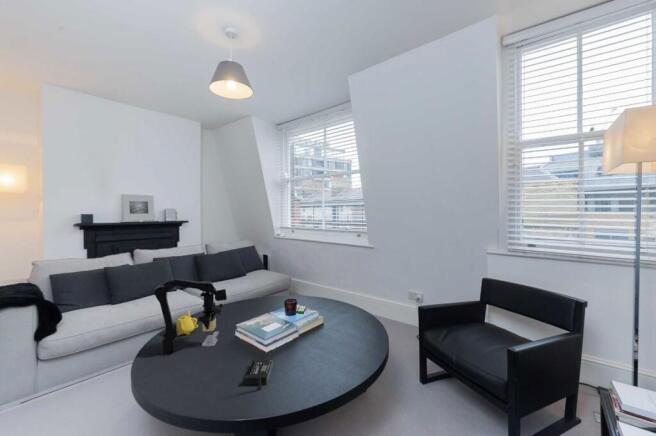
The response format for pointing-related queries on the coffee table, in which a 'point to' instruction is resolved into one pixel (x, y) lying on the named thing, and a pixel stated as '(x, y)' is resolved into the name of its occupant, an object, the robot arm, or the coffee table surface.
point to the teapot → (186, 324)
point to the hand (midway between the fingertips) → (209, 327)
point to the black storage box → (259, 372)
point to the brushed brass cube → (211, 325)
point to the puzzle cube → (301, 309)
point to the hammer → (210, 340)
